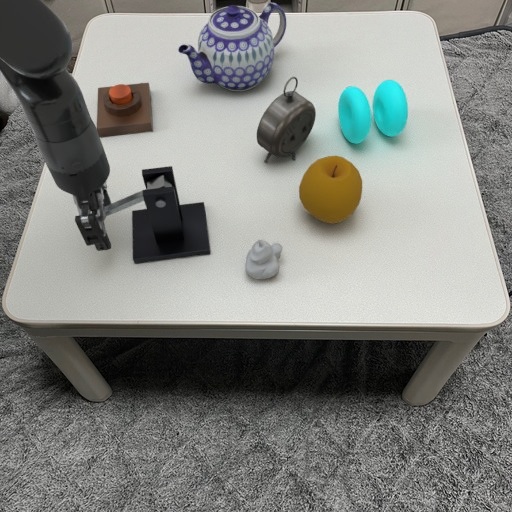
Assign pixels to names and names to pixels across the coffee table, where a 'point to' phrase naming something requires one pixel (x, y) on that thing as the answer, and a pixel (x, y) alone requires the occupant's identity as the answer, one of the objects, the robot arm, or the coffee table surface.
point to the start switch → (124, 112)
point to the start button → (120, 94)
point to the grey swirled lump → (263, 259)
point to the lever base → (167, 223)
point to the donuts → (384, 110)
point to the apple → (331, 189)
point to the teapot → (235, 47)
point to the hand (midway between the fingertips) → (104, 227)
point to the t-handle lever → (134, 197)
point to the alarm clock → (286, 124)
